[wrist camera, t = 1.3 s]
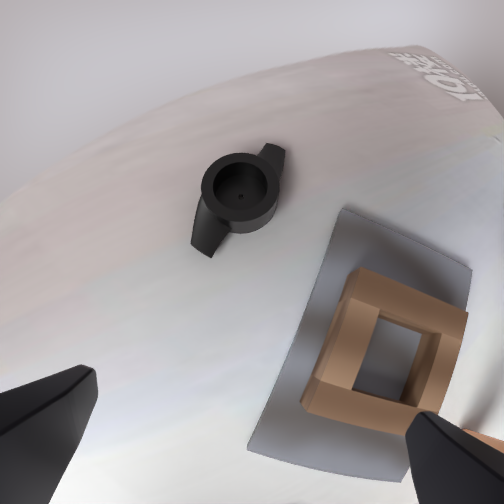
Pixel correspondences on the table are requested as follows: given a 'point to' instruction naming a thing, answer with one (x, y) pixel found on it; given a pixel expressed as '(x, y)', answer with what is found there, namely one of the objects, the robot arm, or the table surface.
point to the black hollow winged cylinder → (237, 196)
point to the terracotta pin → (488, 440)
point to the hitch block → (366, 354)
